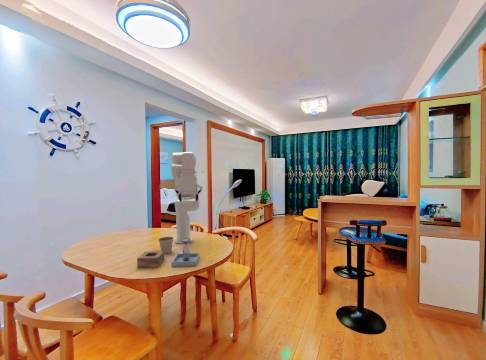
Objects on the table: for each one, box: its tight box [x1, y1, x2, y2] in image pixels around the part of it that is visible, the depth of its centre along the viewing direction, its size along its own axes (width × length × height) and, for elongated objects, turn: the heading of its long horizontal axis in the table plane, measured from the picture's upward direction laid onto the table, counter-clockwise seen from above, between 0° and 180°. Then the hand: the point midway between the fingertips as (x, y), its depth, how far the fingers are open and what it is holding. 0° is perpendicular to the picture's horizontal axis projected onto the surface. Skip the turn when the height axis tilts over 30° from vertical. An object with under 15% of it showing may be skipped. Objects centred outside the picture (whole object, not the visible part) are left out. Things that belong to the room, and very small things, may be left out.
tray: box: [171, 252, 200, 268], centre depth 129 cm, size 13×13×2 cm
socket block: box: [136, 250, 165, 269], centre depth 127 cm, size 11×11×5 cm
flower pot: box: [157, 236, 175, 255], centre depth 145 cm, size 9×9×9 cm
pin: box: [181, 238, 191, 261], centre depth 129 cm, size 5×5×12 cm
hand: (188, 201), depth 138 cm, fingers open, 9 cm apart
